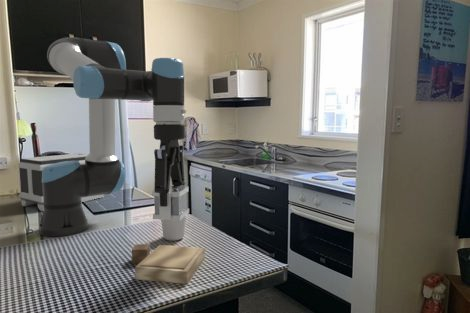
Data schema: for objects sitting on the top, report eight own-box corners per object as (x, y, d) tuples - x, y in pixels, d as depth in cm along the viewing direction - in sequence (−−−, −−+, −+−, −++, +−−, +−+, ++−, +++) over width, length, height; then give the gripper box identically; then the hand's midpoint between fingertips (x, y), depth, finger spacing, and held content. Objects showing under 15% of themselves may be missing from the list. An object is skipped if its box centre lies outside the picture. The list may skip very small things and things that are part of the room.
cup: (163, 231, 119) (163, 208, 118) (187, 231, 120) (187, 208, 119) (159, 243, 109) (159, 217, 108) (185, 242, 109) (185, 217, 108)
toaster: (112, 196, 173) (110, 154, 170) (42, 212, 144) (39, 161, 142) (89, 192, 183) (87, 152, 180) (19, 206, 154) (16, 158, 152)
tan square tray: (135, 279, 84) (135, 266, 84) (160, 255, 99) (159, 243, 98) (187, 283, 82) (187, 270, 81) (204, 258, 96) (204, 247, 96)
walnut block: (132, 264, 93) (131, 249, 93) (135, 258, 97) (134, 244, 96) (147, 264, 93) (147, 249, 93) (149, 258, 97) (149, 244, 97)
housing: (180, 220, 85) (179, 190, 84) (152, 219, 86) (151, 189, 85) (189, 212, 92) (188, 184, 91) (163, 211, 93) (162, 184, 92)
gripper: (168, 124, 76) (171, 227, 78) (195, 122, 95) (196, 205, 98) (136, 124, 77) (139, 225, 80) (169, 122, 97) (171, 204, 99)
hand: (171, 214), depth 89 cm, fingers closed on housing, 7 cm apart
